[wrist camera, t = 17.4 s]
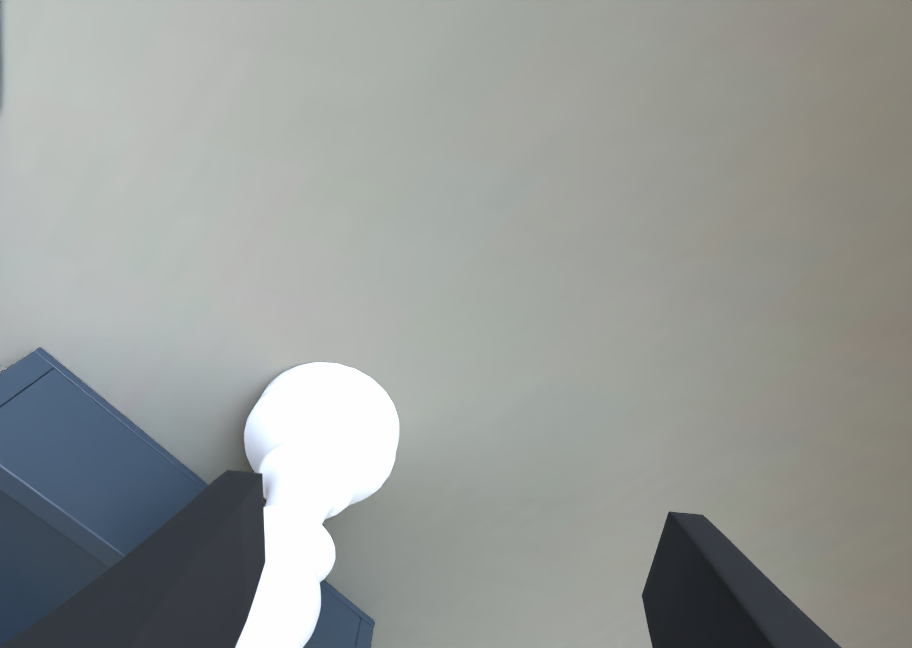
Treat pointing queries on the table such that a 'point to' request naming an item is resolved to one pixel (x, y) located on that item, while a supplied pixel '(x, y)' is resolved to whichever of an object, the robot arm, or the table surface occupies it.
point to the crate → (92, 499)
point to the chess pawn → (311, 485)
